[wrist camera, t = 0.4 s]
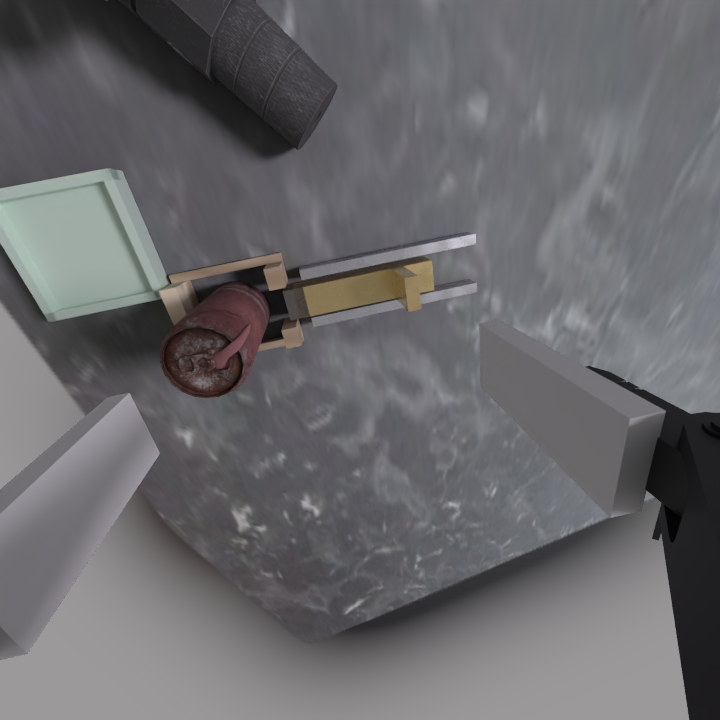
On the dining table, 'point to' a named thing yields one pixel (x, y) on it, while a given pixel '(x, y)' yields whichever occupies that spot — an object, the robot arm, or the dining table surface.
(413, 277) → the keeper bolt
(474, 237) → the keeper guide
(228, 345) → the can
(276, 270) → the socket
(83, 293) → the pale green shallow tray
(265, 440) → the dining table surface
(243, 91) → the laser sight
